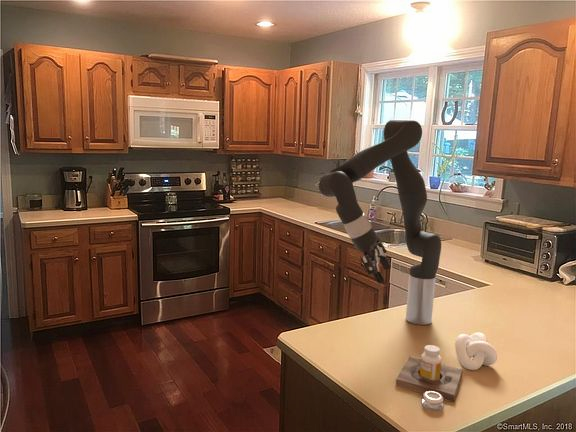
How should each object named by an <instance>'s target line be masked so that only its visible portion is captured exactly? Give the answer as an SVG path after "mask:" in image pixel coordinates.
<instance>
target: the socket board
mask: <svg viewBox="0 0 576 432" xmlns="http://www.w3.org/2000/svg"><path fill="white" fill-rule="evenodd" d="M420 363H421V358H418V357H413V356H410V355H409V356H408V358H407V360H406V362H405V363H404V365H403V366H402V368H401V370H400V372H399V373H398V375H397V377H396V379H395V386H396V387H399V388H403V389H405V390H409V391H414V392H416V393H420V394H422V395H423V394H424V393H425V392H427V391H435V392H438V393H439V394H441V395H442V396H443V398H444V401H449V402H452V403H455V399H456V396H457V394H458V393H457V392H458V389H459V386H460V383H461V379H462V377H463V369H462V368H458V367H454V366H450V365H445V364H442V363H441V369H440V380H428V379H425V378H423V377H421V376H420Z"/></svg>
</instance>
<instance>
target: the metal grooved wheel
mask: <svg viewBox="0 0 576 432" xmlns="http://www.w3.org/2000/svg"><path fill="white" fill-rule="evenodd" d="M444 401H445V399H444V398H443V396H442V395H441V394H439V393H438V392H435V391H427V392H425V393H424V394H423V393H422V401H421V405H422V407H423V409H424V410H427V411H429V412H435V413H437V412H441V411H443V408H444Z"/></svg>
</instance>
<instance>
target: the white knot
mask: <svg viewBox="0 0 576 432" xmlns="http://www.w3.org/2000/svg"><path fill="white" fill-rule="evenodd" d="M454 347H455V353H456V357H457V359H458V361H459V363H460V364H461V365H462V367H464V368H465V369H466V370H469V371H476V370H479V369H480V368H482V365H483V366H487V367H489V366H492V365H493V366H494V364H496V363H497V361H498V353H497V350H496V349H495V348H494V346H493V345H491V344H490V342H489V343H488V338H487V337H486V335H485V334H484V333H482V332H479V331H478V332H474V333H471V335H469V334H466V333H461V334H459V335H458V336H457V337H456V339H455V343H454ZM471 358H472V359H471Z"/></svg>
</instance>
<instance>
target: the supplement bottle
mask: <svg viewBox="0 0 576 432" xmlns="http://www.w3.org/2000/svg"><path fill="white" fill-rule="evenodd" d="M440 350H441V349H440V348H439V347H438V346H436V345H433V344H427V345H425V346H424V349H423V353H422V354H421V355H420V359H421V363H420V376H421V377H423V378H425V379H428V380H440V369H441V364H442V357H441V355H440Z"/></svg>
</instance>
